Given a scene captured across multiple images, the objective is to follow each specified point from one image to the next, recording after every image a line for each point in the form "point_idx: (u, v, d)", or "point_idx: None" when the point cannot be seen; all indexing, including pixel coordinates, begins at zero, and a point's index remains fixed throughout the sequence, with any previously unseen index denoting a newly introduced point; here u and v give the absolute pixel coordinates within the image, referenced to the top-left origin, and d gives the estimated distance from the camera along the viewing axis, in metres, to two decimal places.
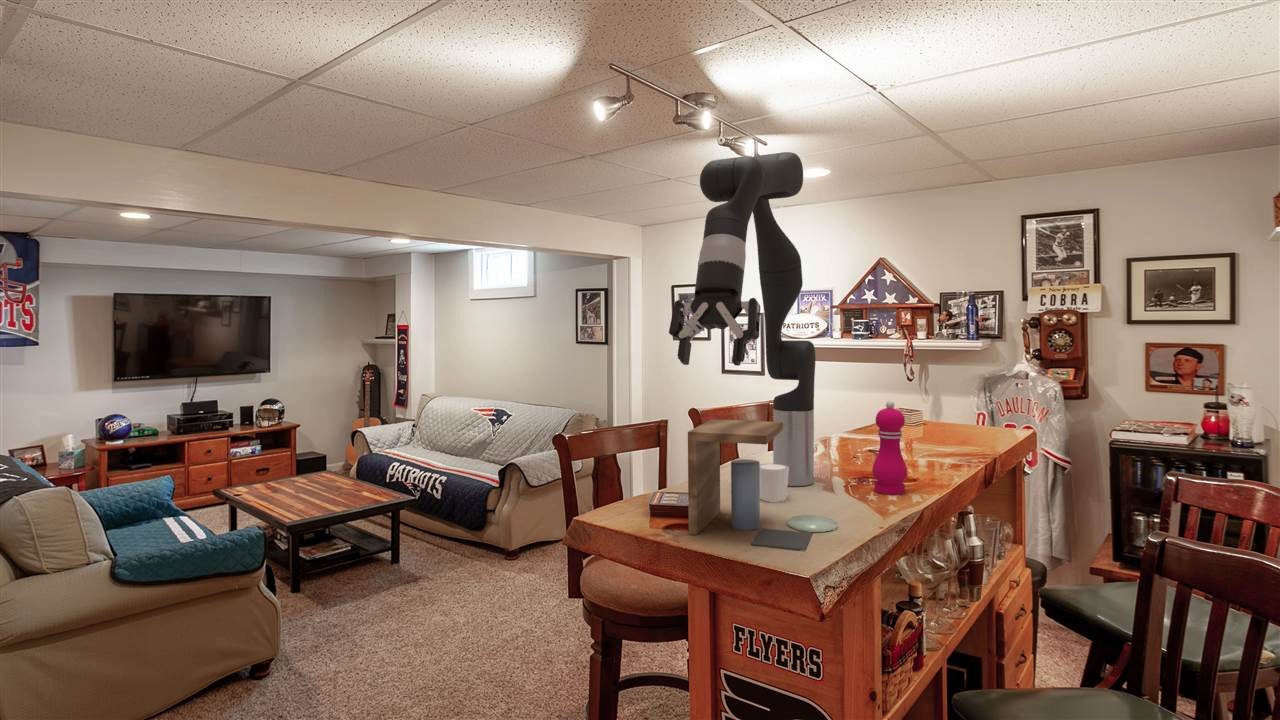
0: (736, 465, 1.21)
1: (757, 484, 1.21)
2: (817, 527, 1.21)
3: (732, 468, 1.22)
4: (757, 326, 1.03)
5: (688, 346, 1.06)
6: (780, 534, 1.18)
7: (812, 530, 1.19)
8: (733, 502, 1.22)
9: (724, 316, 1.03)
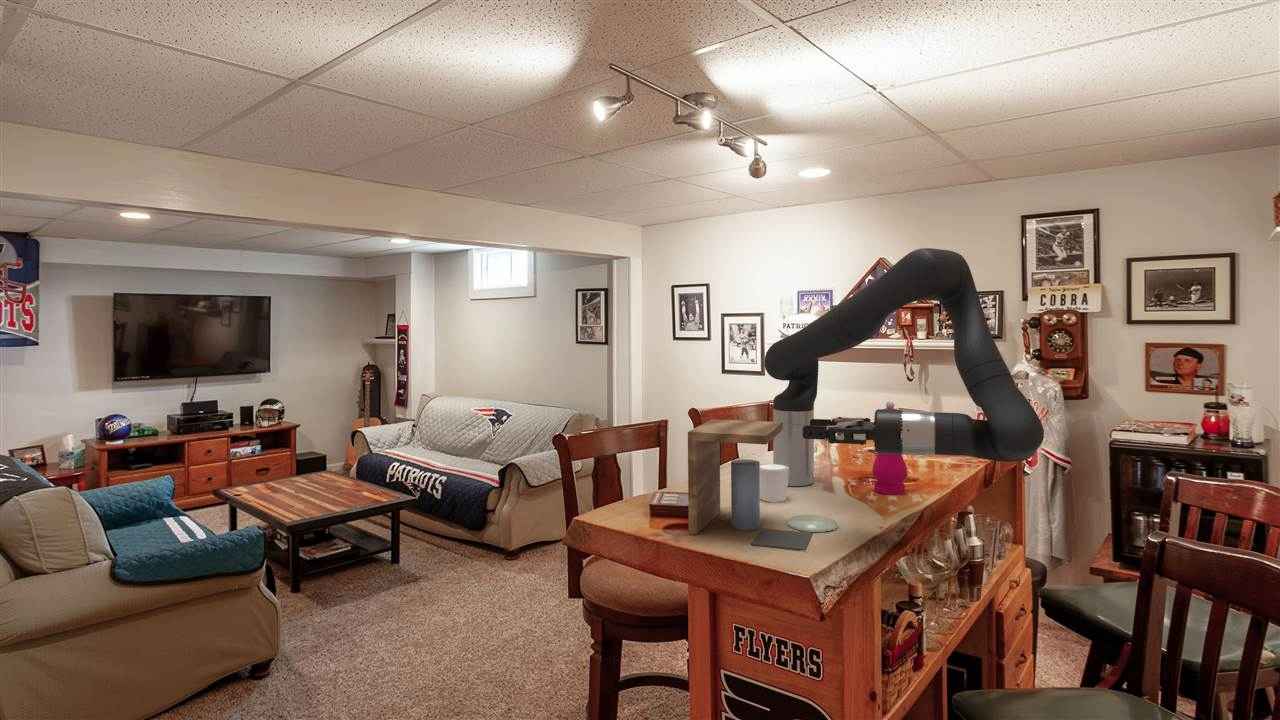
0: (736, 465, 1.21)
1: (757, 484, 1.21)
2: (817, 527, 1.21)
3: (732, 468, 1.22)
4: None
5: None
6: (780, 534, 1.18)
7: (812, 530, 1.19)
8: (733, 502, 1.22)
9: None
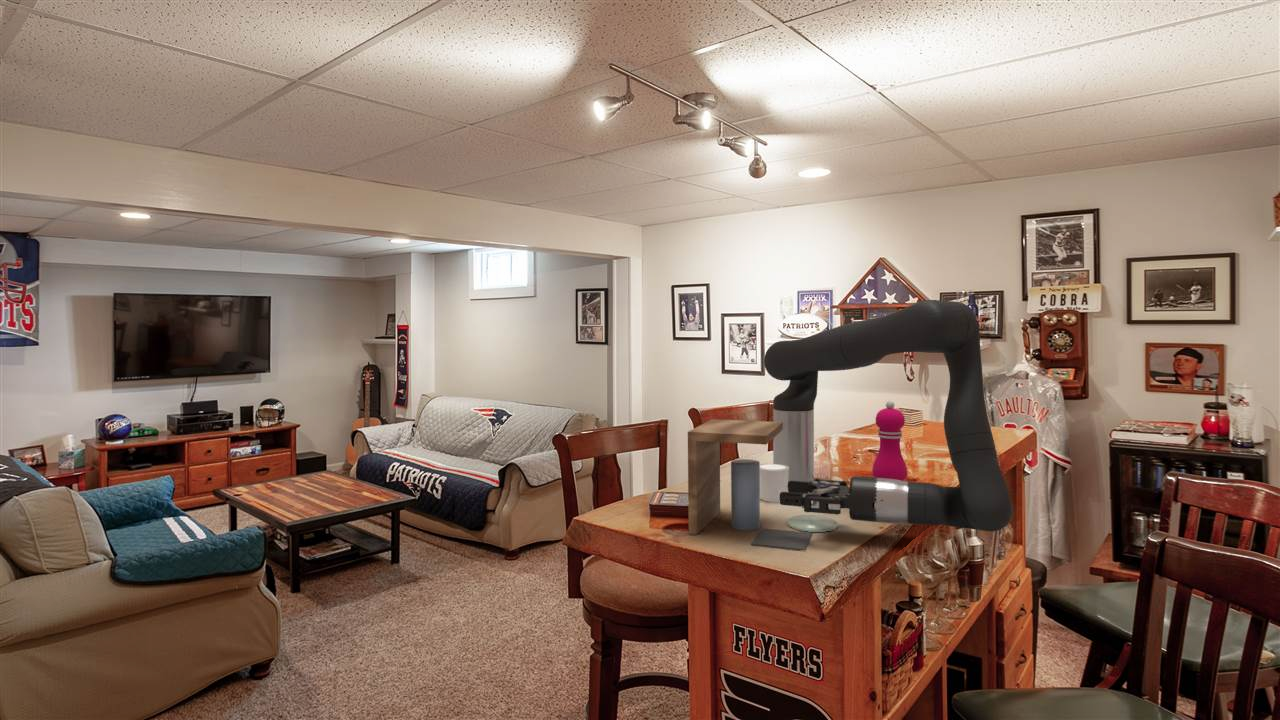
0: (736, 465, 1.21)
1: (757, 484, 1.21)
2: (817, 527, 1.21)
3: (732, 468, 1.22)
4: None
5: None
6: (780, 534, 1.18)
7: (812, 530, 1.19)
8: (733, 502, 1.22)
9: None
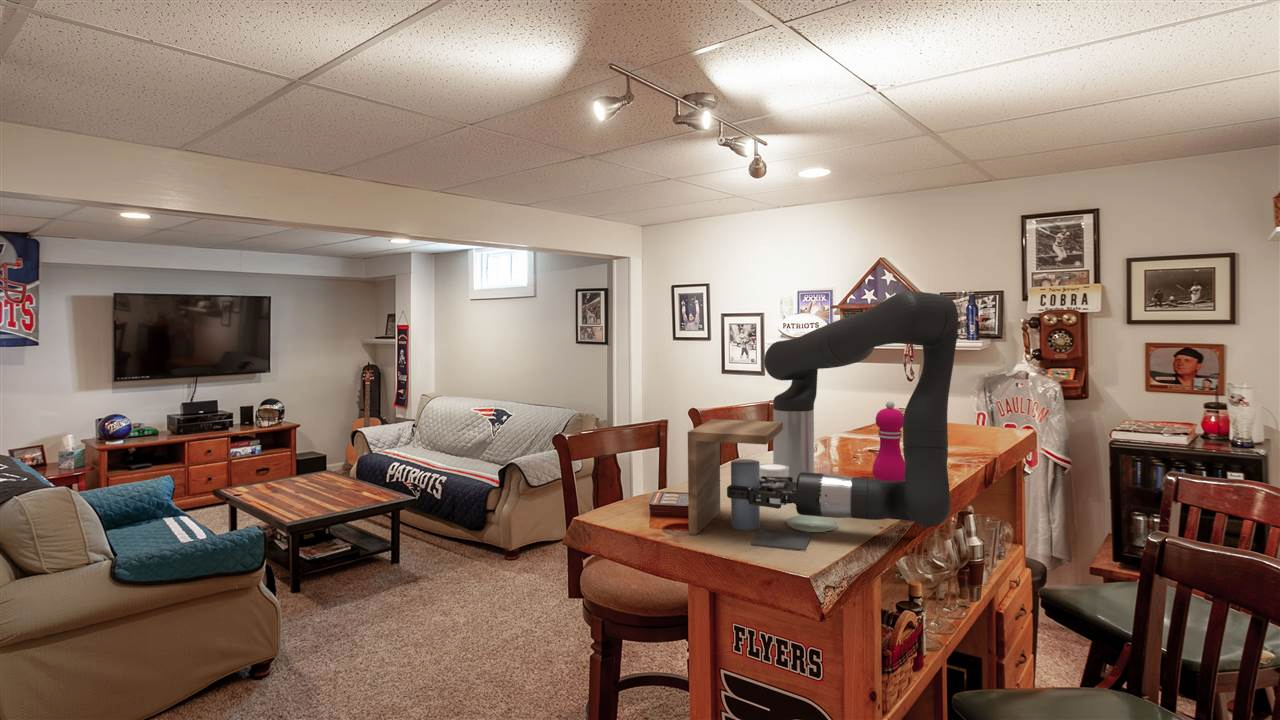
0: (736, 465, 1.21)
1: (756, 483, 1.21)
2: (817, 527, 1.21)
3: (732, 468, 1.22)
4: None
5: None
6: (780, 534, 1.18)
7: (812, 530, 1.19)
8: (733, 502, 1.22)
9: None
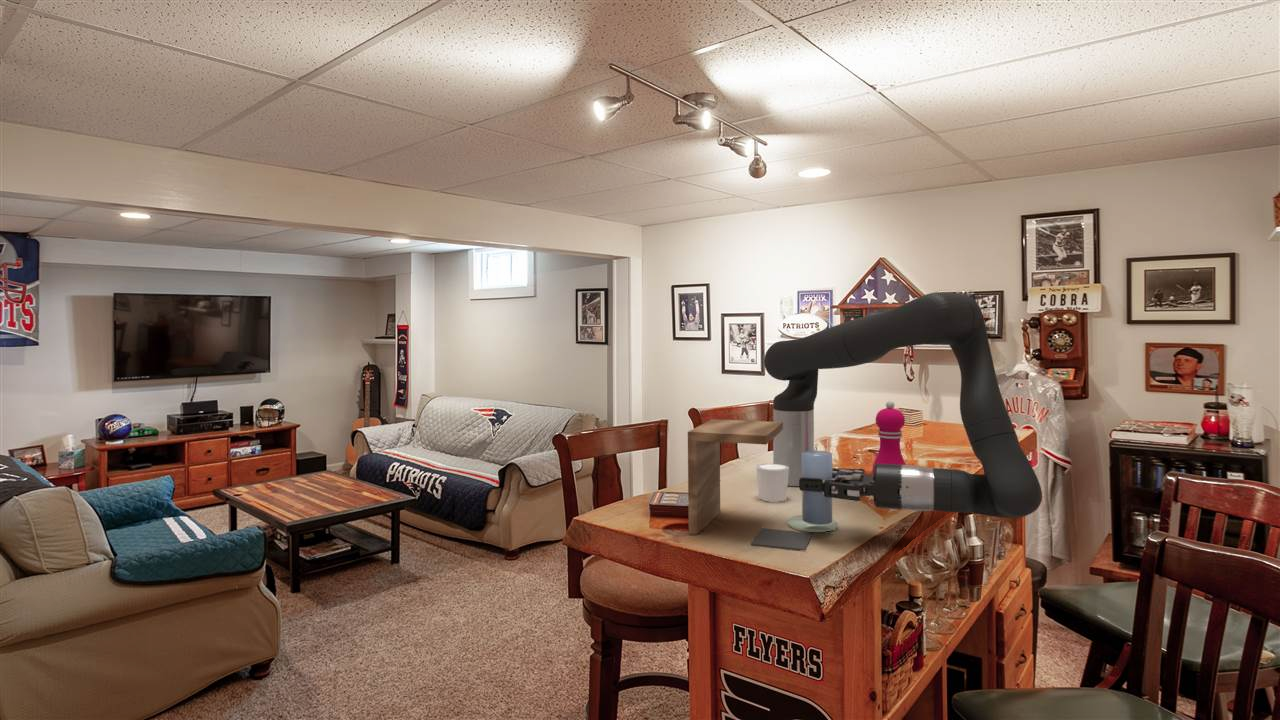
0: (808, 456, 1.16)
1: (830, 475, 1.16)
2: (817, 527, 1.21)
3: (804, 460, 1.17)
4: None
5: None
6: (780, 534, 1.18)
7: (812, 530, 1.19)
8: (805, 495, 1.17)
9: None
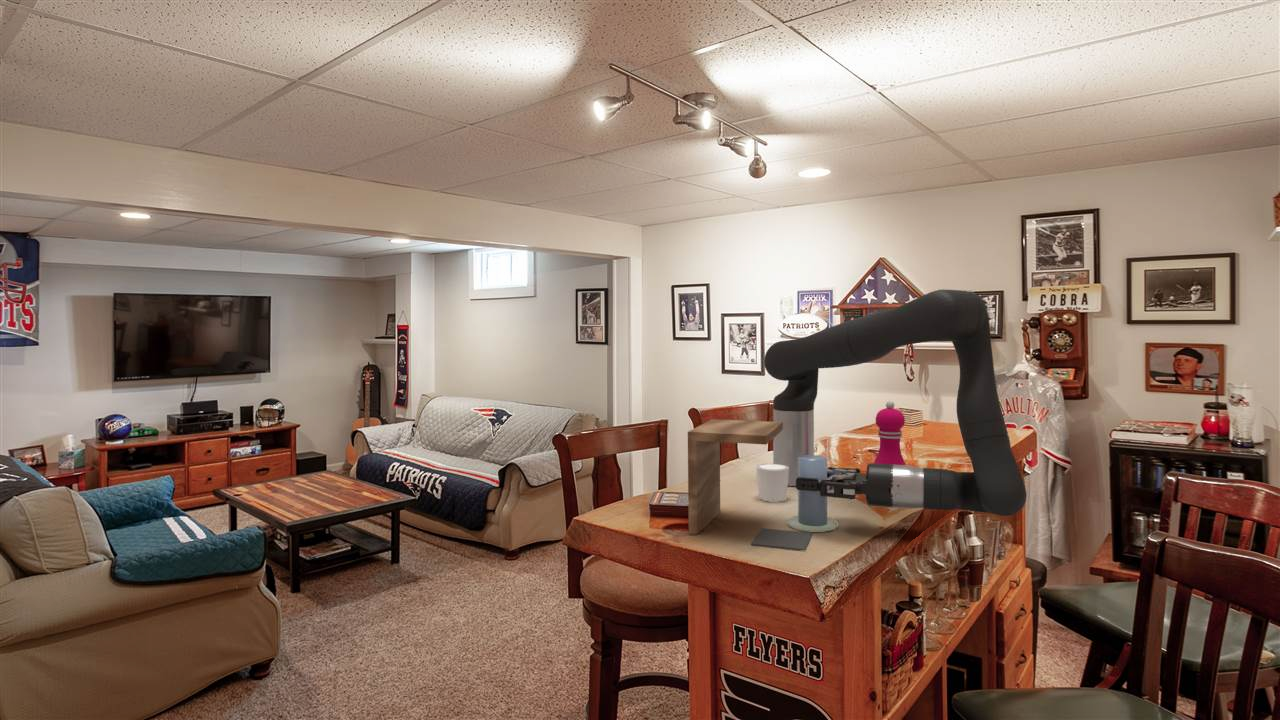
0: (804, 461, 1.21)
1: None
2: (817, 527, 1.21)
3: (800, 464, 1.22)
4: None
5: None
6: (780, 534, 1.18)
7: (812, 530, 1.19)
8: (801, 498, 1.22)
9: None
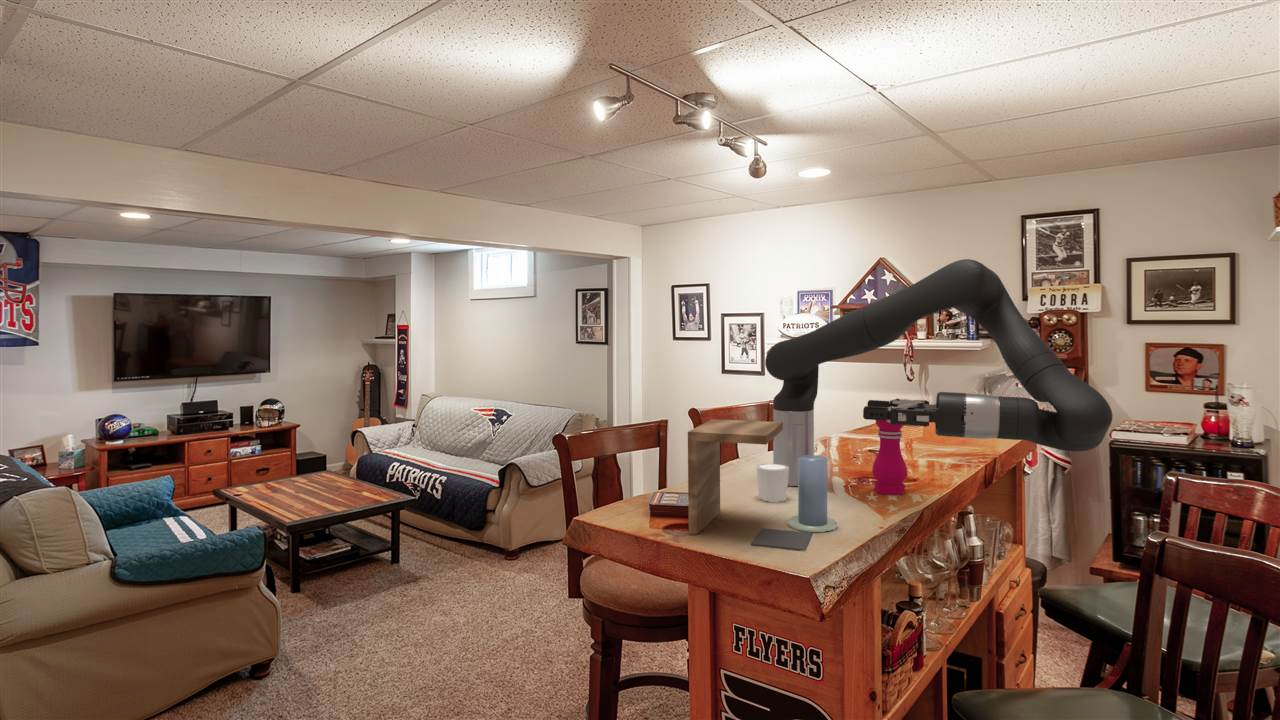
0: (804, 461, 1.21)
1: (825, 479, 1.21)
2: (817, 527, 1.21)
3: (800, 464, 1.22)
4: None
5: None
6: (780, 534, 1.18)
7: (812, 530, 1.19)
8: (801, 498, 1.22)
9: None
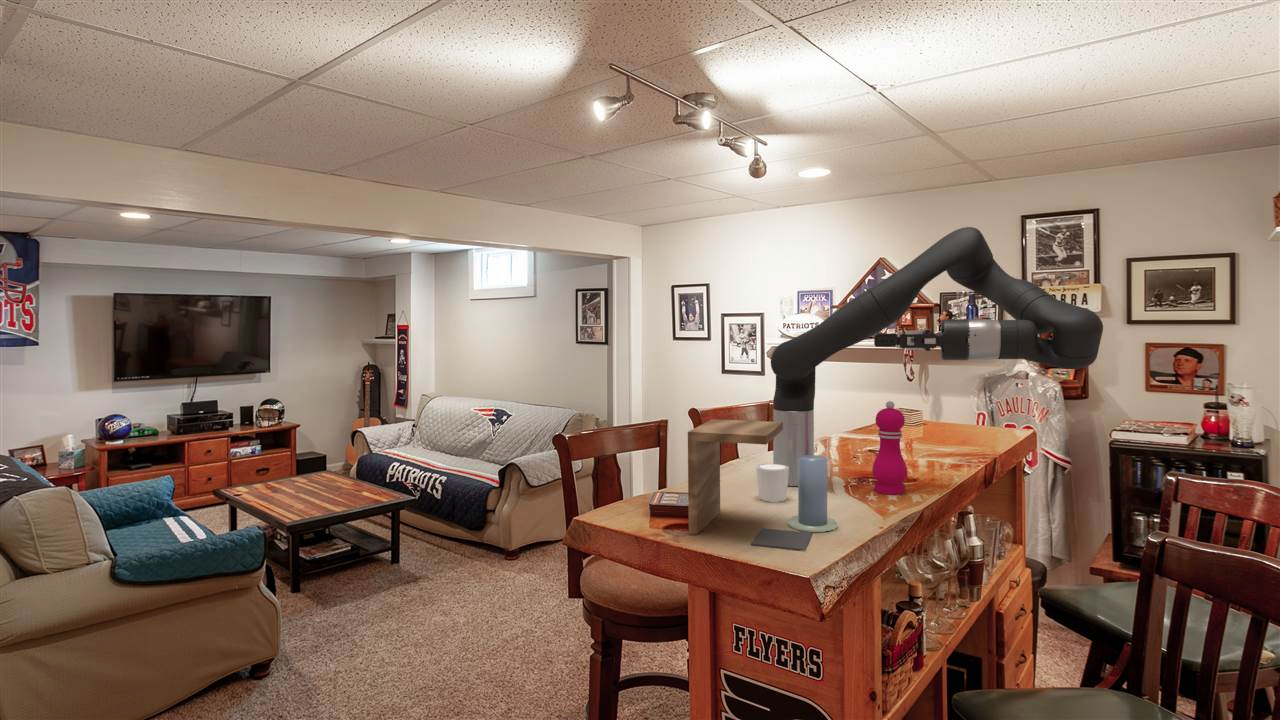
0: (804, 461, 1.21)
1: (825, 479, 1.21)
2: (817, 527, 1.21)
3: (800, 464, 1.22)
4: None
5: None
6: (780, 534, 1.18)
7: (812, 530, 1.19)
8: (801, 498, 1.22)
9: None
